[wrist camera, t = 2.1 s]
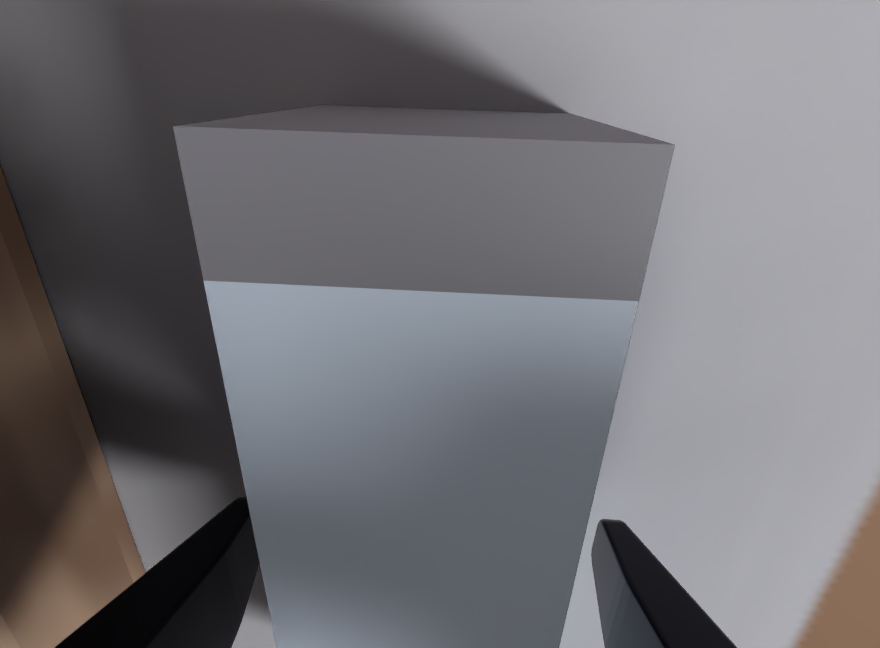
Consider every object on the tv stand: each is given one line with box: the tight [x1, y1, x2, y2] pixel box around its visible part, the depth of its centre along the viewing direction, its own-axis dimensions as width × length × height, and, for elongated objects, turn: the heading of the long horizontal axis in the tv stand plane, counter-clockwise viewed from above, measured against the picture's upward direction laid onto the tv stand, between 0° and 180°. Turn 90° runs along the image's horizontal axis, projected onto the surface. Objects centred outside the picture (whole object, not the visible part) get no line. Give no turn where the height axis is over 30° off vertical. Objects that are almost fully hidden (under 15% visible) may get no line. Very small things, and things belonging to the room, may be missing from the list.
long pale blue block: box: [173, 105, 675, 648], centre depth 8 cm, size 13×4×4 cm, turn 178°
